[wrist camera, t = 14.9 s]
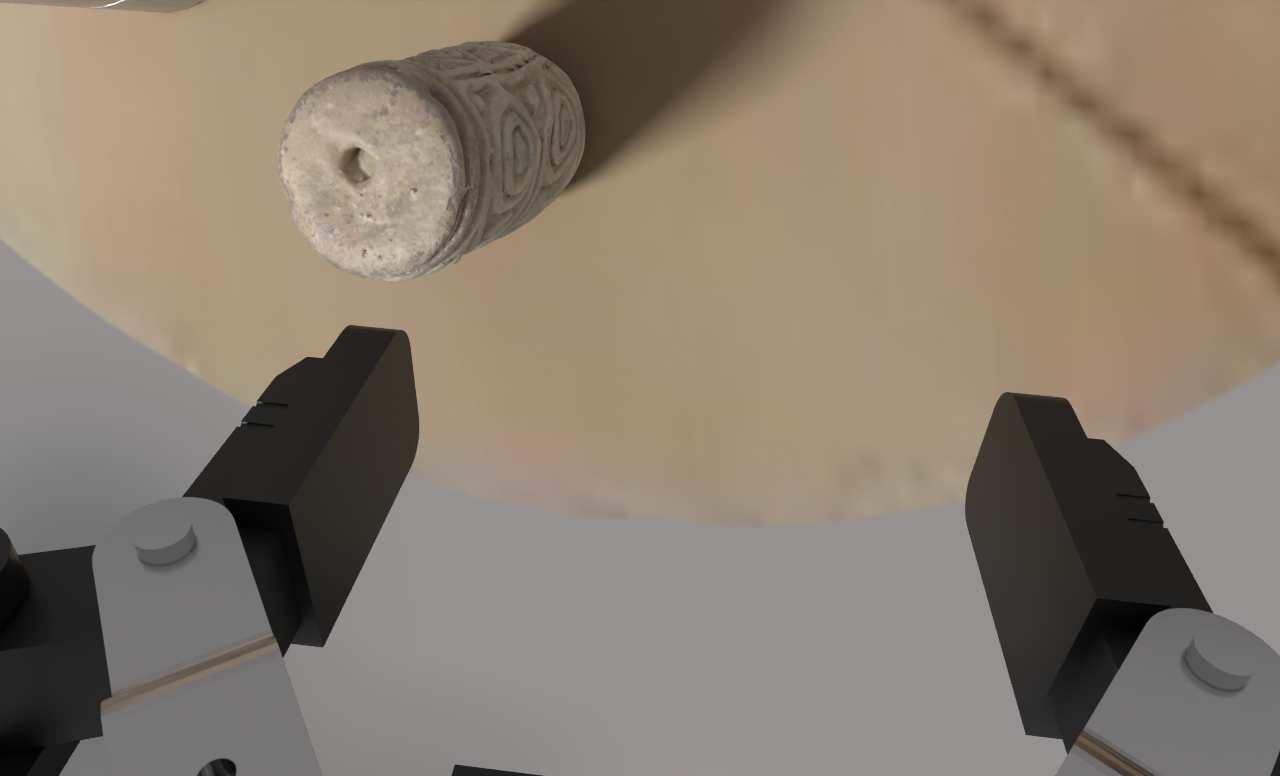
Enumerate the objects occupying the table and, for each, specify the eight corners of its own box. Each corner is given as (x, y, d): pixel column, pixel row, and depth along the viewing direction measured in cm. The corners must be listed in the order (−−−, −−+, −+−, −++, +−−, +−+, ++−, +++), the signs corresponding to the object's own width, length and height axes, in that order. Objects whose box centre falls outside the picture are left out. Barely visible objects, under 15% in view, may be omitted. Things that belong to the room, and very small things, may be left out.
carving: (409, 167, 37) (221, 215, 26) (498, 3, 34) (327, -21, 23) (532, 258, 37) (397, 344, 26) (631, 104, 34) (525, 128, 23)
